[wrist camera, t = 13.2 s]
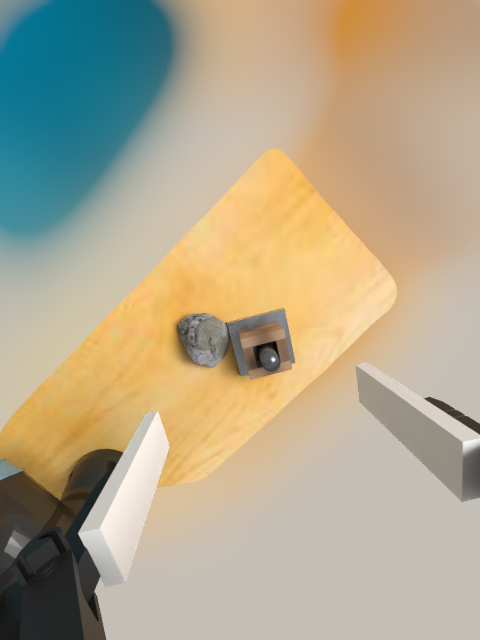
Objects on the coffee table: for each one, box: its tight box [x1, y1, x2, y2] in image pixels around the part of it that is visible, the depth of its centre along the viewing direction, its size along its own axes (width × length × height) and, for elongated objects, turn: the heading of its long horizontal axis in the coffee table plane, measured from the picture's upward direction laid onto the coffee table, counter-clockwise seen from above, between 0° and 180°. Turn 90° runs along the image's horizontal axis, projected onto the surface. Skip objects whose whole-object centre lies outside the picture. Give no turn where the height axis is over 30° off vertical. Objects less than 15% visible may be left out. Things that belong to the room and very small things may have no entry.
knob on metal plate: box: [227, 308, 295, 376], centre depth 41 cm, size 12×12×11 cm
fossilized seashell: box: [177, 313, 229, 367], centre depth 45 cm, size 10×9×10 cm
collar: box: [239, 321, 292, 380], centre depth 43 cm, size 8×8×6 cm
